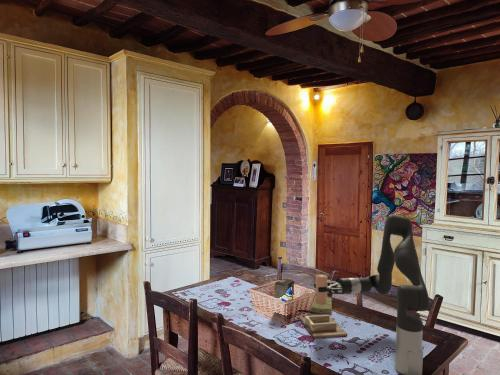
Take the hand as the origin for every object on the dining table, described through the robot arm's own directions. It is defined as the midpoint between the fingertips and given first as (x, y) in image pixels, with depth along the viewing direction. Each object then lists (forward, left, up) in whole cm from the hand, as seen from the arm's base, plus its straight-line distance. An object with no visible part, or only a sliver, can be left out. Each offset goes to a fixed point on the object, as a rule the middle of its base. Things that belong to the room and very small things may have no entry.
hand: (316, 287), depth 177 cm
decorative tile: (+26, -9, -21) cm, 34 cm away
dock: (0, -4, -20) cm, 20 cm away
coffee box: (+22, +9, -20) cm, 31 cm away
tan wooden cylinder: (0, -3, -7) cm, 8 cm away
